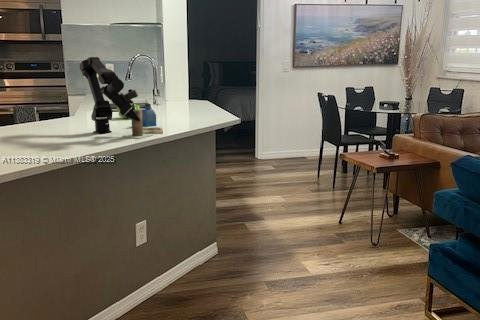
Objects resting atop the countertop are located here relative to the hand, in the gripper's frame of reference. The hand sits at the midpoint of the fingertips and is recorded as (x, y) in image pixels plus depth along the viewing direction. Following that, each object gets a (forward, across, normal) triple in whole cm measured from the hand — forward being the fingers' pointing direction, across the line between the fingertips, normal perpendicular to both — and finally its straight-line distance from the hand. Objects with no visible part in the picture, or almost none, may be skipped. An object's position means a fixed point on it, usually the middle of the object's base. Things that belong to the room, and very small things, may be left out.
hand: (140, 119), depth 217 cm
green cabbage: (0, +59, +12) cm, 60 cm away
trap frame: (+10, +12, +2) cm, 15 cm away
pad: (+5, 0, +7) cm, 8 cm away
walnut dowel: (+4, 0, +6) cm, 8 cm away
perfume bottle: (+9, +31, +3) cm, 32 cm away
